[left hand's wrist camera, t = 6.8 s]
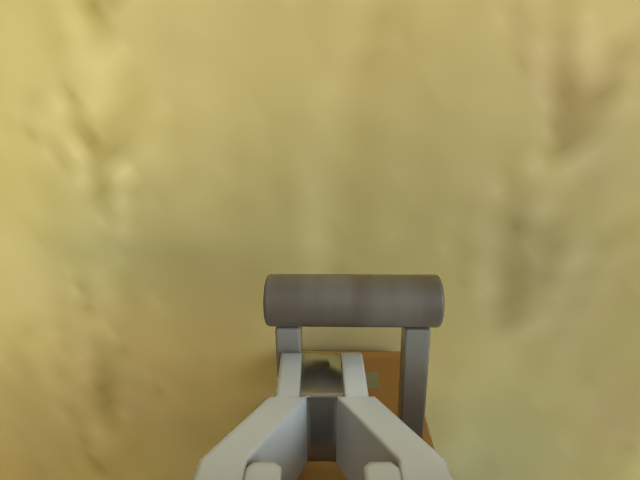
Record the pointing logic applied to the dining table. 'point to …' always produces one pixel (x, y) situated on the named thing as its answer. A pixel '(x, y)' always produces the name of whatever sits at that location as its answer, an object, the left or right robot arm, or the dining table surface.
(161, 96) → the dining table surface
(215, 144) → the dining table surface
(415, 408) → the drawer
